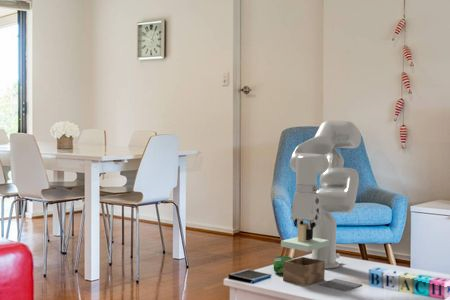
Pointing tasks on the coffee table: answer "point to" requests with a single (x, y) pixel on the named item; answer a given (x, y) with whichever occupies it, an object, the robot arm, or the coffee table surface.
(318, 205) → the robot arm
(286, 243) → the lid
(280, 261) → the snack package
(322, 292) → the coffee table surface
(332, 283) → the mat
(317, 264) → the box
